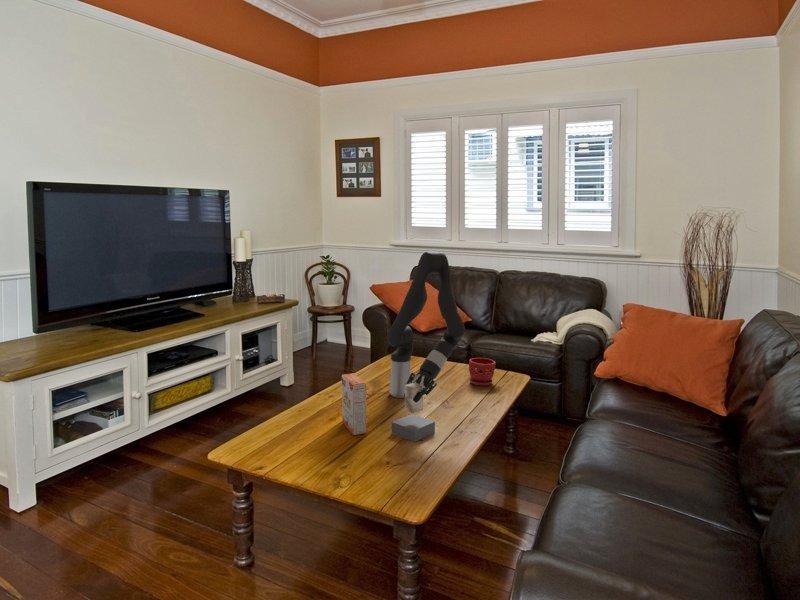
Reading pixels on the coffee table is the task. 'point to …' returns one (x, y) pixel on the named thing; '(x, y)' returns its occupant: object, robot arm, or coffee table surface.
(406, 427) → the flat gray square
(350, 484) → the coffee table surface
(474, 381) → the plant pot
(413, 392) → the taupe block
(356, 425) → the cracker box
